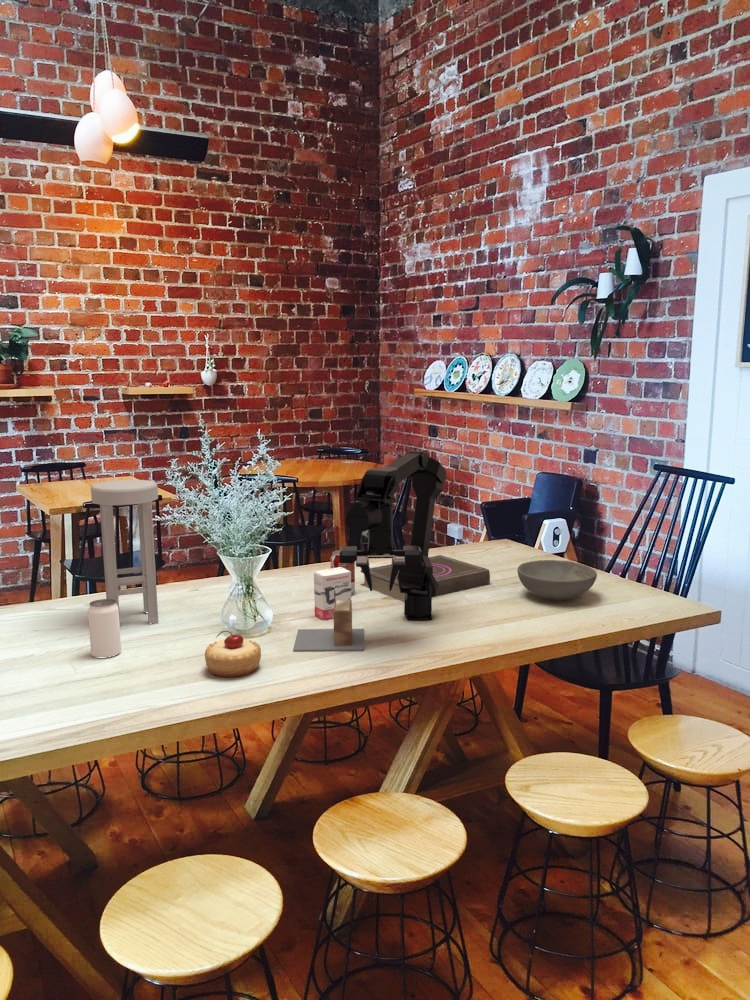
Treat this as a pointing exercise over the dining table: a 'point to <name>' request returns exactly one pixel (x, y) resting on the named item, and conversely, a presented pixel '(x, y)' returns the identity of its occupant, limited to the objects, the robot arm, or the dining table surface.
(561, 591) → the bowl
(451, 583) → the book
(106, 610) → the can
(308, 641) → the mat
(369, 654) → the dining table surface
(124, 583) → the stool
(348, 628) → the slab
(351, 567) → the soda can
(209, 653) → the pastry
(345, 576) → the ink box
